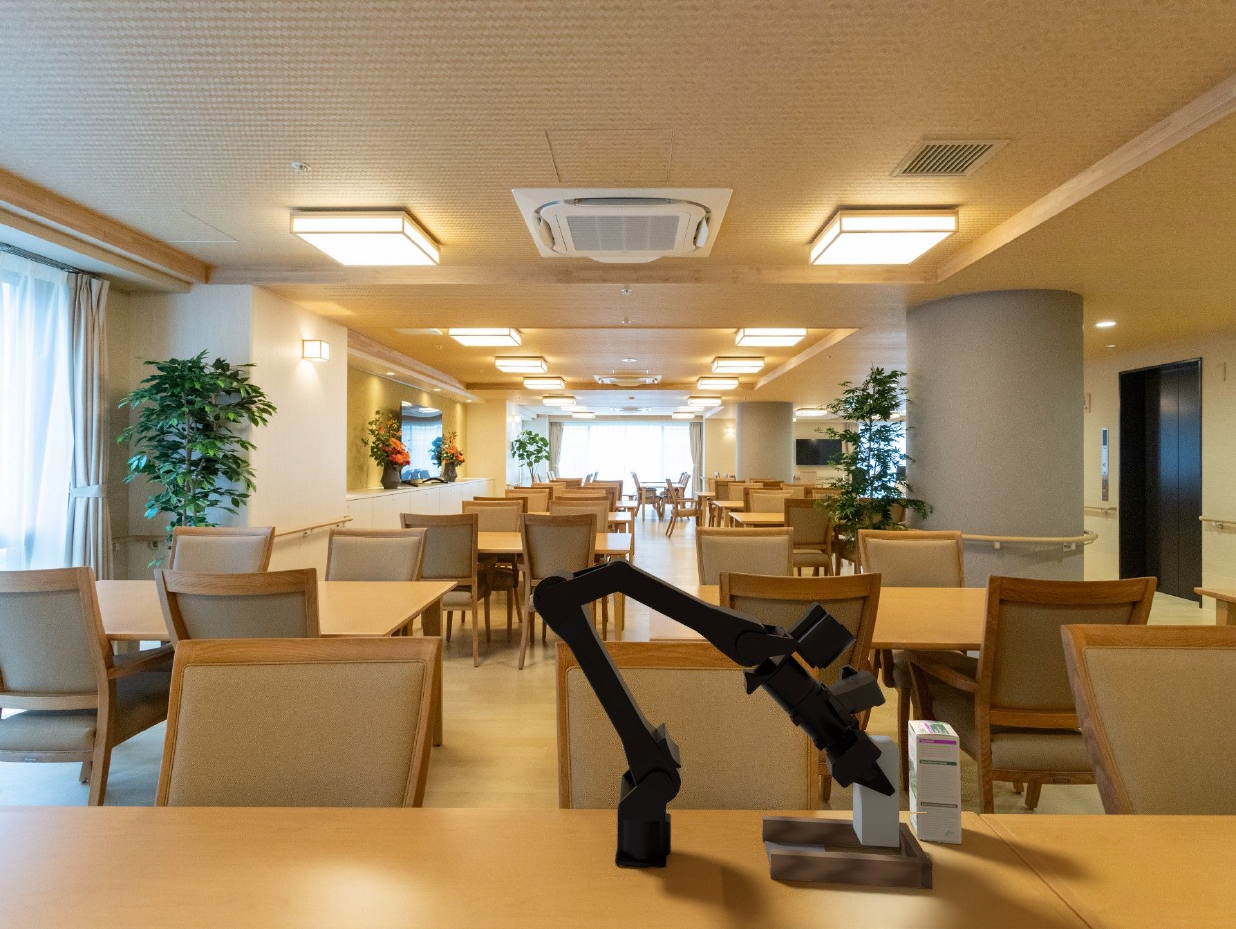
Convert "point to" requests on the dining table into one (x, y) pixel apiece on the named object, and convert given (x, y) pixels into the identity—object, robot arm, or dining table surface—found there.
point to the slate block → (879, 801)
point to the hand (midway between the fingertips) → (886, 784)
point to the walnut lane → (840, 854)
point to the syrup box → (934, 781)
